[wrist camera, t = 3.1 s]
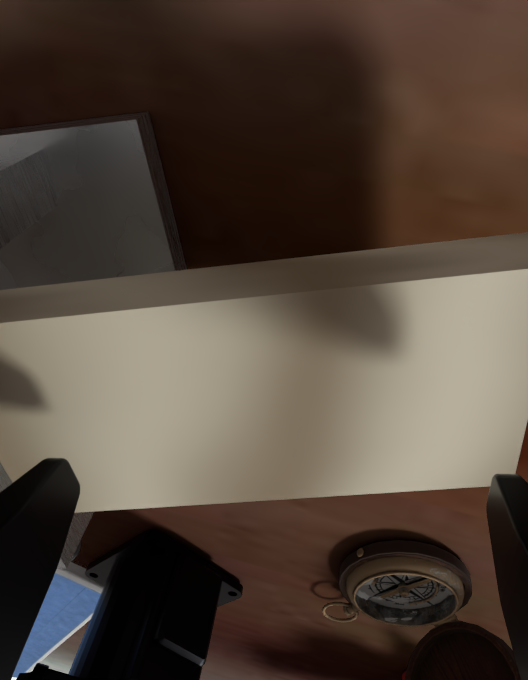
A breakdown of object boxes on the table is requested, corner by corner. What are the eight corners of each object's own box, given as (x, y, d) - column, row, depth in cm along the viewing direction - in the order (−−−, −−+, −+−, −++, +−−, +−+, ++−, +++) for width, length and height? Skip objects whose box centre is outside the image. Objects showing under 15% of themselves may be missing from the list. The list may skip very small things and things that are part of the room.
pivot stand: (41, 417, 21) (-69, 573, 16) (-108, 131, 15) (-391, 222, 9) (222, 417, 20) (173, 590, 14) (145, 99, 13) (-5, 184, 8)
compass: (412, 516, 22) (436, 712, 16) (514, 597, 24) (567, 792, 19) (285, 572, 26) (267, 745, 20) (384, 637, 28) (393, 807, 23)
